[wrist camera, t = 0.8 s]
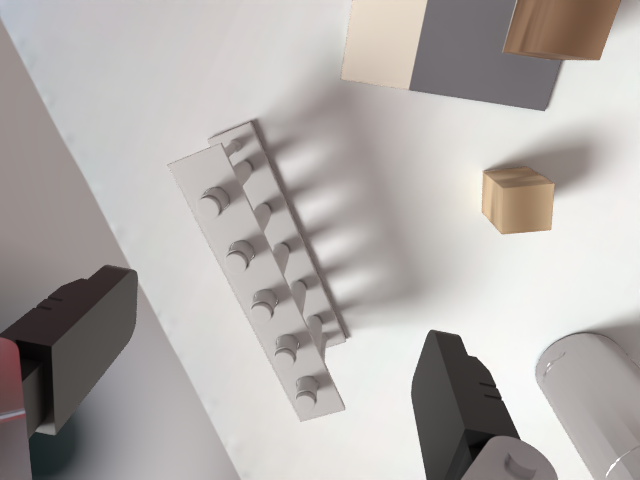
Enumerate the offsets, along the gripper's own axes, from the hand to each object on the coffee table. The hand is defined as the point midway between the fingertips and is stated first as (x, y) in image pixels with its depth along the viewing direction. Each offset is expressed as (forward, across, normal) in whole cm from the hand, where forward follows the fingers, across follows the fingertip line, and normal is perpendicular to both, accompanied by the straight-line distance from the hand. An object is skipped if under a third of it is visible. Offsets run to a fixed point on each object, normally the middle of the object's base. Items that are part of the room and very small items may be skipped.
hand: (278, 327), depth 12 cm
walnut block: (+31, -15, -12) cm, 37 cm away
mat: (+31, -9, -12) cm, 35 cm away
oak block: (+32, -17, +1) cm, 36 cm away
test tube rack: (+32, +2, +11) cm, 34 cm away
